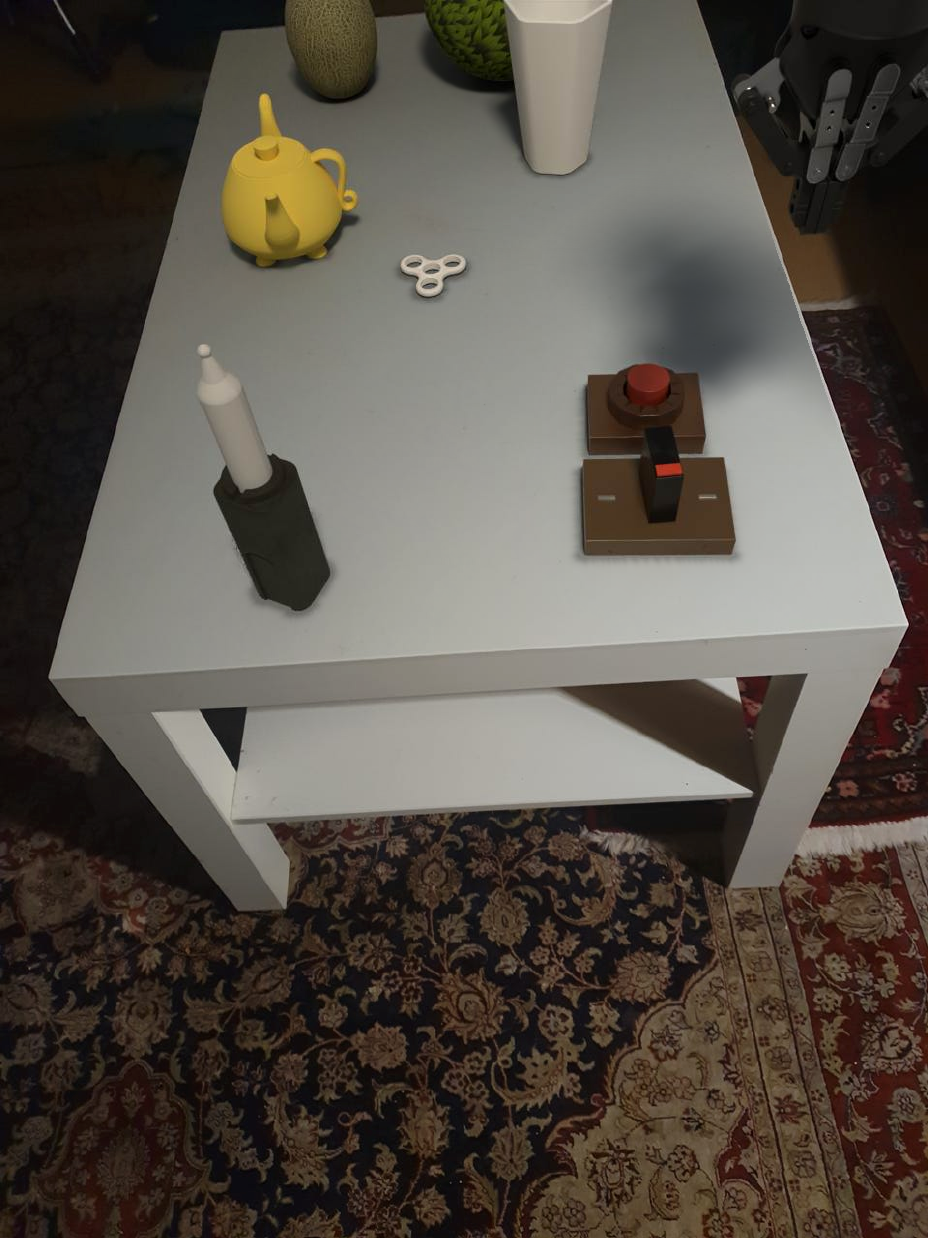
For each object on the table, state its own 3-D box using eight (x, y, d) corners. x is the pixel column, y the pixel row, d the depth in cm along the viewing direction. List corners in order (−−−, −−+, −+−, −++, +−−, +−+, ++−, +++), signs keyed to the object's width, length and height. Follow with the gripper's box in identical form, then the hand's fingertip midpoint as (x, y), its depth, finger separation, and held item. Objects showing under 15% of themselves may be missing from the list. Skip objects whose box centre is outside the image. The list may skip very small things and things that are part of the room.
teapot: (372, 284, 98) (354, 183, 88) (234, 306, 98) (200, 207, 88) (355, 179, 109) (337, 79, 99) (231, 198, 109) (201, 100, 99)
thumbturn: (638, 473, 78) (644, 425, 73) (664, 471, 78) (672, 422, 73) (648, 524, 75) (656, 476, 70) (675, 521, 75) (684, 474, 70)
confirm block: (694, 390, 86) (700, 356, 83) (702, 453, 82) (709, 420, 78) (586, 392, 87) (588, 359, 83) (589, 455, 82) (591, 422, 79)
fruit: (282, 93, 121) (252, -36, 108) (348, 60, 125) (327, -69, 112) (335, 124, 116) (310, -8, 103) (403, 88, 120) (386, -44, 107)
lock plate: (720, 472, 80) (724, 455, 78) (731, 555, 75) (736, 538, 74) (582, 474, 81) (583, 457, 80) (584, 555, 76) (585, 539, 75)
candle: (335, 568, 78) (259, 328, 57) (305, 614, 75) (214, 382, 54) (284, 550, 79) (191, 310, 58) (252, 595, 77) (144, 362, 56)
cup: (558, 195, 104) (561, 33, 90) (492, 165, 108) (484, 6, 94) (619, 150, 108) (631, -12, 94) (553, 123, 112) (554, -36, 98)
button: (665, 377, 82) (668, 362, 81) (668, 406, 80) (671, 391, 79) (625, 378, 82) (626, 363, 81) (627, 407, 80) (628, 392, 79)
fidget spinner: (467, 258, 99) (466, 252, 98) (461, 297, 95) (461, 291, 95) (402, 259, 100) (402, 253, 99) (395, 298, 96) (394, 291, 96)
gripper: (1007, -146, 46) (895, 183, 60) (739, -116, 46) (692, 203, 61) (1070, -83, 42) (933, 253, 56) (776, -51, 42) (716, 274, 56)
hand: (808, 226), depth 58 cm, fingers closed
